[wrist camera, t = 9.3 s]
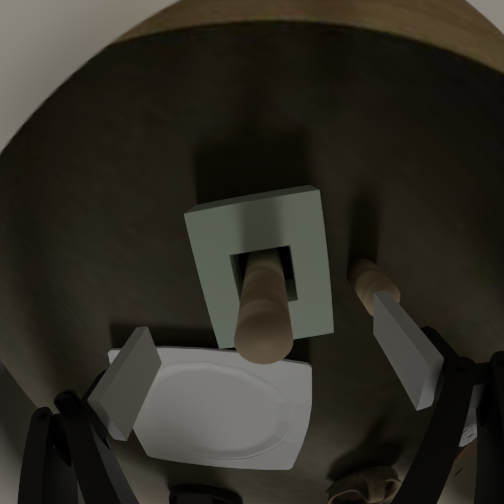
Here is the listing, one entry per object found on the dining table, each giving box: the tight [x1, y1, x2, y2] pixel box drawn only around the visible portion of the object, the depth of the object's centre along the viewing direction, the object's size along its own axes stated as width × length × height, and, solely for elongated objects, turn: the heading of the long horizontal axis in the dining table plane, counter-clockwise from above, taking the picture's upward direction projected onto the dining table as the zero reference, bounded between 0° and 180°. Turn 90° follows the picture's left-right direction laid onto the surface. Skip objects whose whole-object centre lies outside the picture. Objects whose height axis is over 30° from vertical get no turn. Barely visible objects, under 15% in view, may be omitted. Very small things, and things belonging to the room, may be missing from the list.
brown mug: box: [325, 466, 402, 504], centre depth 33 cm, size 14×18×10 cm
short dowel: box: [347, 258, 400, 316], centre depth 24 cm, size 3×3×6 cm
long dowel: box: [234, 248, 293, 364], centre depth 21 cm, size 3×3×13 cm
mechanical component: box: [459, 408, 477, 447], centre depth 33 cm, size 10×4×10 cm
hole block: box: [184, 185, 334, 349], centre depth 25 cm, size 10×12×4 cm
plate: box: [108, 346, 312, 470], centre depth 33 cm, size 24×24×3 cm
